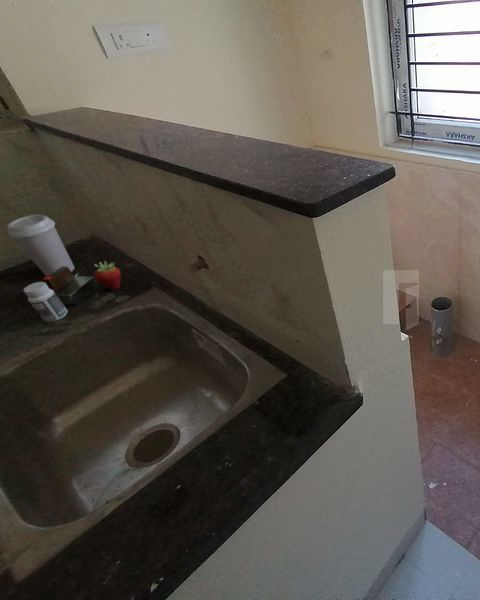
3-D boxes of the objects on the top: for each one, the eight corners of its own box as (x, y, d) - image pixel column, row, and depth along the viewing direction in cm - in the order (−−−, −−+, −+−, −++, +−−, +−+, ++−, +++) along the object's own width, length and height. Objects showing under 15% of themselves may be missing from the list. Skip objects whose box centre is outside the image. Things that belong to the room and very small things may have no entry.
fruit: (131, 287, 99) (117, 260, 94) (109, 297, 96) (93, 270, 91) (122, 281, 101) (107, 254, 97) (100, 290, 98) (84, 264, 93)
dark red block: (69, 278, 97) (61, 265, 95) (75, 278, 97) (67, 265, 95) (50, 292, 93) (41, 279, 90) (56, 292, 93) (47, 279, 90)
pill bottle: (66, 307, 93) (45, 278, 88) (70, 316, 90) (49, 286, 85) (42, 316, 90) (19, 286, 85) (45, 325, 88) (22, 295, 82)
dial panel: (34, 306, 93) (26, 296, 91) (66, 282, 101) (60, 272, 99) (73, 308, 92) (66, 297, 91) (103, 283, 101) (97, 273, 99)
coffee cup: (85, 270, 106) (54, 220, 97) (43, 285, 101) (6, 233, 91) (76, 258, 111) (45, 209, 102) (35, 272, 106) (-1, 222, 97)
